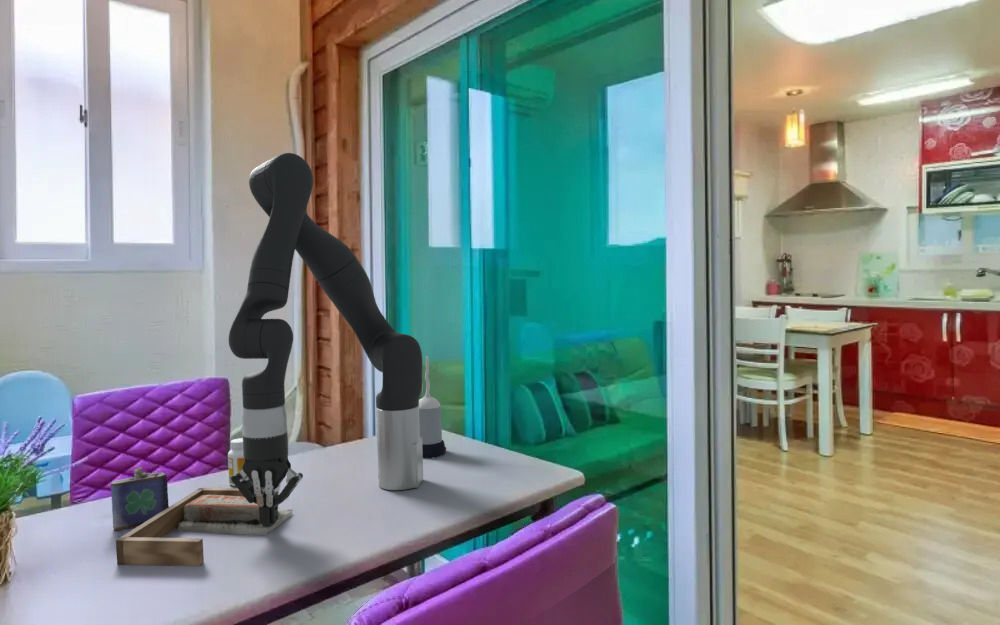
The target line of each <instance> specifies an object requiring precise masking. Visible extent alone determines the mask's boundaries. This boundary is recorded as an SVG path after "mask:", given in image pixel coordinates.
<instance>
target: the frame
mask: <svg viewBox="0 0 1000 625" xmlns="http://www.w3.org/2000/svg"><path fill="white" fill-rule="evenodd" d="M202 495H224V496H240V497H244V496H243V495H242V493H241V492H240V491H239V489H238V488H237V487H236V488H235V487H233V488H232V487H229V488H228V487H227V488H226V487H224V488H223V487H199V488H197V489H196V490H194V491H193V492H191V493H189V494H188V495H185V496H184V497H183V498H181V499H180V500H178V501H177V502H174V503H173V504H171V505H170V506H169V507H168V508H167V509H165V510H164V511H162V512H160V513H159V514H157V515H156V516H154V517H152V518H151V519H149V520H147V521H146V522H144V523H143V524H141V525H139V526H138V527H134V528H133V529H132V530H130V531H128V532H127V533H125V534H123V535H121V536H120V537H119V538H117V539H115V550H116V564H117V565H135V566H137V565H138V566H183V567H184V566H187V567H188V566H189V567H191V566H192V567H197V566H198V567H199V566H200V567H201V565H202V564H204V562H205V559H204V558H205V557H204V542H203V538H201V537H200V538H197V537H193V538H192V537H189V538H188V537H166V536H167V535H169V534H170V533H172V532H173V531H175V530H176V529H178V525H179V522H180V523H181V522H183V521H184V515H185V513H184V506H186V505H187V504H188V503H190V502H191V501H193V500H195V499H197V498H198V497H200V496H202Z"/></svg>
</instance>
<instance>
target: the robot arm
mask: <svg viewBox="0 0 1000 625" xmlns="http://www.w3.org/2000/svg"><path fill="white" fill-rule="evenodd" d="M248 185H249V186H248V187H249V190H250V192H251V194H252V196H253V198H254V200H255V201H256V203H257V204H258V205H259V207H261V209H262V210H263V212H265V214H266V215H267V216H268V218H269V219H268V221H267V224H266V227H265V229H264V232H262V236H261V237H260V240H259V242H258V245H257V247H256V249H255V251H254V253H253V257H252V261H251V264H250V270H249V276H248V283H247V287H246V288H247V289H246V294H245V296H244V298H243V301H242V303H241V305H240V308H239V309H238V311H237V314H236V316H235V318H234V320H233V322H232V323H231V326H230V329H229V333H228V346H229V349H230V350H231V353H232V354H233V355H234V356H235V357H237V358H239V359H243V360H244V359H246V360H248V359H249V360H252V359H253V360H257V359H260V360H263V359H264V360H265V359H267V364H266V366H265V369H263V370H262V369H261V370H257V371H253V372H250V373H247V374H245V375H244V376H243V378H242V381H241V390H242V392H241V394H242V396H241V397H242V418H241V425H242V426H241V431H242V438H243V456H244V458H245V461H244V464H243V466H242V470H241V471H240V472H238V473H236V474H235V475H234V476H232V477H231V481H232V482H233V483H234V484H235V486H234V487H236V488H238V489H239V491H240V492H241V493H242V495H243V496H244V497H245V498H246V500H247V501H248V502H249V503H256V504H257V505H258V506H259V517H260V523H262V526H263V527H272V526H273V525H274V524H275V522H276V521H277V520H278V509H279V508H278V507H279V505H280V504H283V502H284V501H286V500H287V499H288V498H289V496H290V495H291V494H292V493H293V491H294V490H295V489H296V488H297V486H298V484H299V483H300V482H301V481H302V479H303V478H304V475H303V472H296V471H295V470H293V469H292V465H291V462H290V461H289V438H288V436H289V434H288V413H287V409H286V408H287V407H286V396H285V395H286V392H285V379H286V373H287V367H288V363H289V359H290V355H291V352H292V349H293V344H294V333H293V332H294V331H293V329H292V327H291V326H290V324H289V323H288V321H286V320H285V319H281V318H263V317H264V316H265V314H267V313H270V312H273V311H276V310H280V309H282V308H284V307H285V306H286V304H287V302H288V300H289V299H288V298H289V293H290V292H289V290H290V282H291V276H292V269H293V268H292V266H293V261H294V256H295V251H296V252H297V254H298V255H299V256H300V258H301V259H302V261H303V262H304V263H305V265H306V266H307V269H309V270H310V272H311V274H312V275H313V277H314V278H315V280H316V282H317V283H318V285H319V286H320V288H322V290H323V292H324V293H325V294H326V297H328V299H329V300H330V301H331V302H332V303H333V305H334V306H335V308H336V309H337V310H338V312H339V313H340V315H341V316H342V318H343V319H345V321H346V323H347V324H348V325H349V326H350V327H351V329H352V330H353V332H354V334H355V335H356V337H357V339H358V341H359V343H360V345H361V347H362V348H363V350H364V352H365V354H366V357H367V358H368V359H369V361H370V364H371V365H372V366H373V367H374V368H375V369H376V370H377V371H379V372H381V373H382V387H381V390H380V392H377V394H376V396H375V407H376V408H375V411H376V441H377V442H376V443H377V445H376V446H377V470H378V471H377V473H378V474H377V475H378V487H379V488H381V489H383V490H388V491H403V490H405V491H406V490H409V489H418V488H419V487H420V485H421V483H423V480H424V462H423V461H424V458H423V451H422V438H421V437H420V428H419V400H420V396H421V393H422V385H423V376H422V372H423V352H422V348H421V345H420V343H419V342H418V340H417V339H416V338H415V337H413V336H412V335H409V334H406V333H400V332H397V331H396V330H395V328H393V327H392V326H391V324H390V323H389V322H388V320H387V319H386V318H385V316H384V315H383V314H382V312H381V310H380V308H379V307H378V304H377V301H376V297H375V294H374V290H373V287H372V284H371V280H370V278H369V276H368V274H367V272H366V271H365V269H364V267H363V266H362V264H361V262H360V261H359V259H358V258H357V257H356V255H355V253H354V252H353V251H352V250H351V248H350V247H349V246H348V245H346V244H345V243H344V242H343V241H341V239H339V238H337V237H336V236H334V235H333V234H331V233H329V231H326V230H325V229H324V228H322V227H320V225H318V224H317V223H316V222H315V221H314V220H313V219H312V218H311V217H310V215H308V213H307V211H306V210H307V207H308V204H309V202H310V198H311V195H312V190H313V188H314V175H313V172H312V169H311V167H310V165H309V164H308V162H307V160H305V159H304V158H303V157H302V156H300V155H298V154H296V153H292V152H284V153H282V154H281V153H280V154H278V155H276V156H274V157H272V158H269V159H268V160H267V161H264V162H262V163H261V164H260V165H258V166H257V167H254V169H253V170H252V171H251V172H250V174H249V176H248ZM249 479H250V480H249ZM284 479H285V487H283V489H282V490H281V483H282V482H283V481H284ZM251 482H252V483H251ZM280 490H281V491H280ZM278 504H279V505H278Z"/></svg>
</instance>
